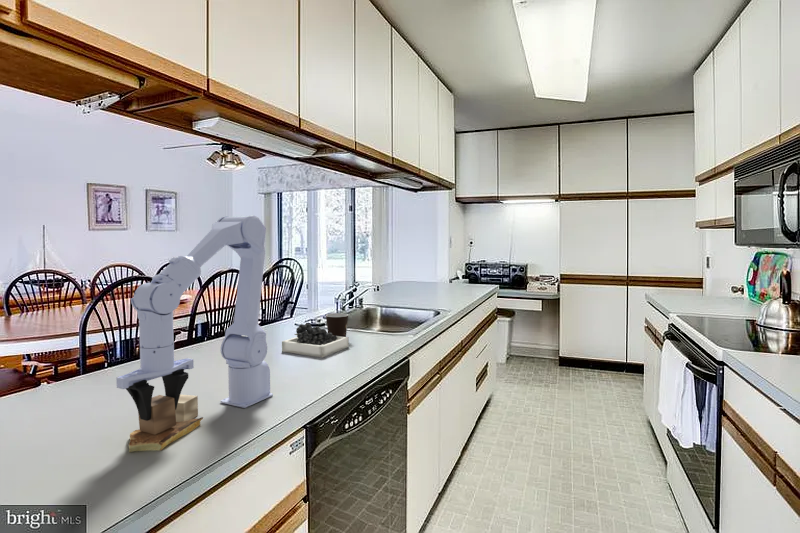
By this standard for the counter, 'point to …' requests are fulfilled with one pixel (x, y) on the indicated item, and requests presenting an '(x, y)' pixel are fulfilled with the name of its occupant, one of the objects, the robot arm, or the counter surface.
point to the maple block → (186, 408)
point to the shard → (161, 436)
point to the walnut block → (159, 415)
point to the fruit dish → (315, 347)
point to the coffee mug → (337, 324)
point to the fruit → (313, 335)
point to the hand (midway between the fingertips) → (158, 414)
